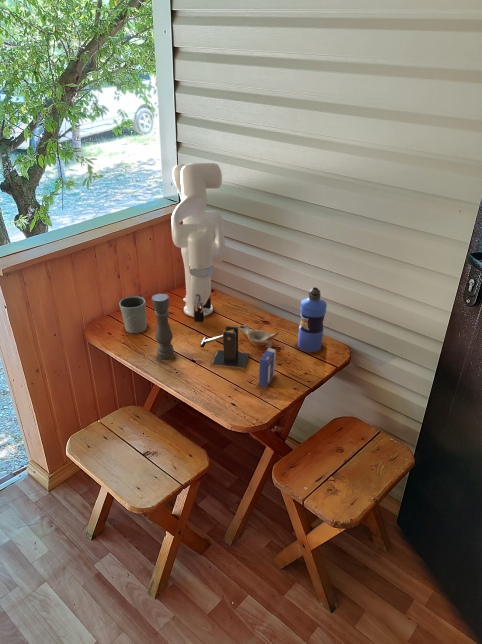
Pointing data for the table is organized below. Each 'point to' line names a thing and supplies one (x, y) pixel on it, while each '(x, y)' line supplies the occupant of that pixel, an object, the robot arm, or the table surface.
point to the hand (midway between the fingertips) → (202, 314)
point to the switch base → (231, 350)
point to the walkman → (267, 367)
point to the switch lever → (213, 339)
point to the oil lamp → (258, 336)
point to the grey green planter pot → (134, 314)
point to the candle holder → (163, 327)
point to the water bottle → (311, 321)
